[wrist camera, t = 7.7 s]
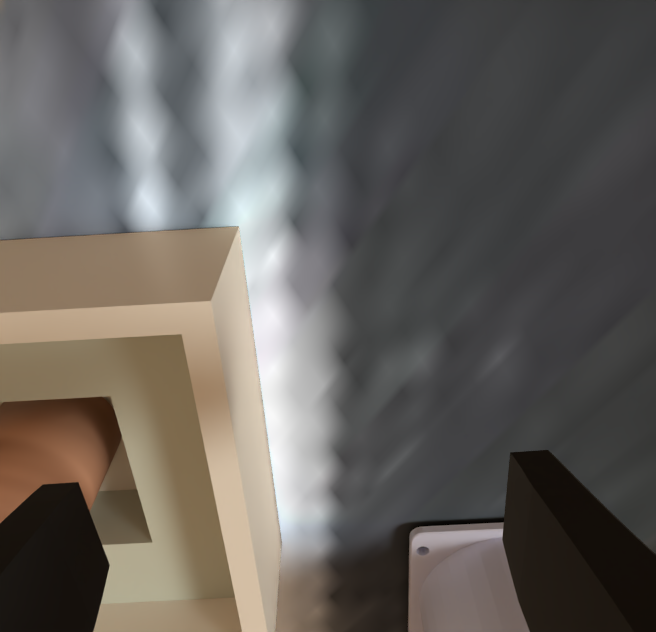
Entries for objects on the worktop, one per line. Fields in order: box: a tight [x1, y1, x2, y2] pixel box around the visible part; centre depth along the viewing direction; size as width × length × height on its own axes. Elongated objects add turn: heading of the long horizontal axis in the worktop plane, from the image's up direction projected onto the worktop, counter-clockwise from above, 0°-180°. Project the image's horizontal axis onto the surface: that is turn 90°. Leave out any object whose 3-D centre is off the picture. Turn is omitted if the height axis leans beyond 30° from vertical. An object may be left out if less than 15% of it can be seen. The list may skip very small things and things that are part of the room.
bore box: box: [0, 227, 282, 632], centre depth 18 cm, size 14×14×5 cm
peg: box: [0, 397, 122, 523], centre depth 17 cm, size 4×4×6 cm
